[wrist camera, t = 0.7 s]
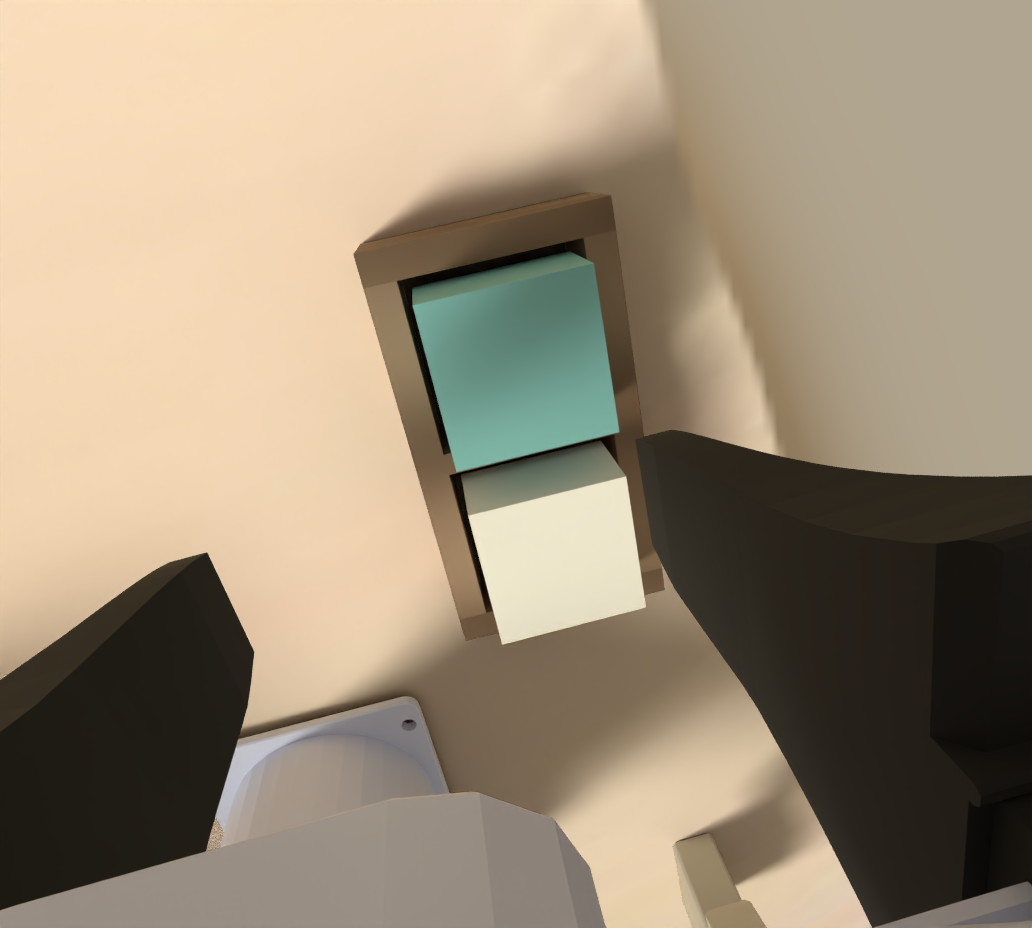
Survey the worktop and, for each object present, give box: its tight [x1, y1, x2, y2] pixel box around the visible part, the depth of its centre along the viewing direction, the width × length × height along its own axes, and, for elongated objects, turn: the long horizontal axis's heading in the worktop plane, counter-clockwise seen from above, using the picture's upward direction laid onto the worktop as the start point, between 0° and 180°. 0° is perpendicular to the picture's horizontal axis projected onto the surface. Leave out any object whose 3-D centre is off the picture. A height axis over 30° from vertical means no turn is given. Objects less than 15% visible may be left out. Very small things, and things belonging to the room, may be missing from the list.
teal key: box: [412, 251, 619, 472], centre depth 17 cm, size 4×4×2 cm
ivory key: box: [461, 440, 646, 645], centre depth 19 cm, size 4×4×2 cm
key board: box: [354, 193, 665, 641], centre depth 20 cm, size 11×6×2 cm, turn 12°
